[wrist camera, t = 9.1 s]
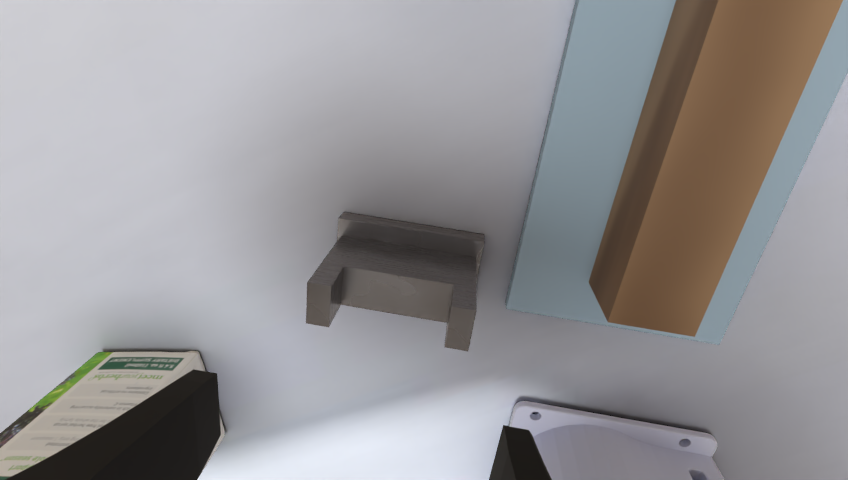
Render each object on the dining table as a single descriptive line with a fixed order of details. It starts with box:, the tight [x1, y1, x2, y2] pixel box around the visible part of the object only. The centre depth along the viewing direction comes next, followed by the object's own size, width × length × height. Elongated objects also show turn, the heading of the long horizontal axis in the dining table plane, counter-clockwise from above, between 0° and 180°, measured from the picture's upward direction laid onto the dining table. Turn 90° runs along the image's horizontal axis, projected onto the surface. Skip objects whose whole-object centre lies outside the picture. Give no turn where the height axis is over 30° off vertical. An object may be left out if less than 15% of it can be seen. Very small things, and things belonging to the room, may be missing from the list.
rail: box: [589, 0, 843, 337], centre depth 14 cm, size 3×16×3 cm, turn 173°
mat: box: [506, 0, 848, 345], centre depth 16 cm, size 9×20×1 cm, turn 173°
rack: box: [306, 212, 484, 351], centre depth 15 cm, size 6×16×5 cm, turn 173°
